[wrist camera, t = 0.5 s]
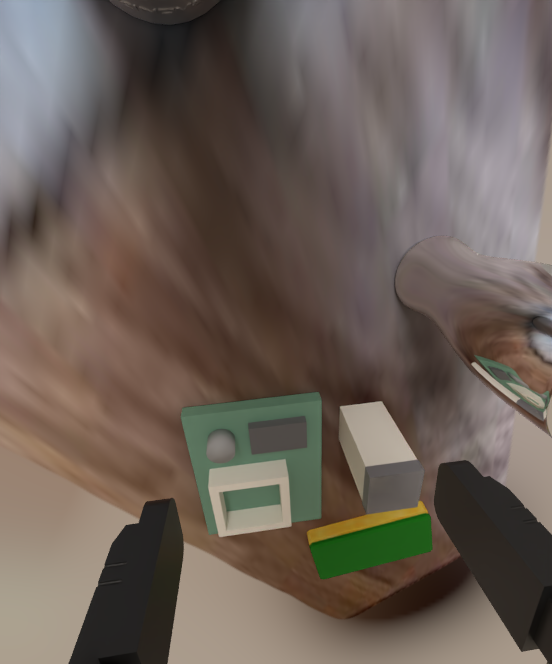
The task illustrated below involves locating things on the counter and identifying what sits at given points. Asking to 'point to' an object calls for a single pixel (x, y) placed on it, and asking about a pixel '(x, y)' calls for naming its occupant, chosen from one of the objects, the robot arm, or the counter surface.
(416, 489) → the plug
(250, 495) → the board
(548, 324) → the beer glass
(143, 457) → the counter surface
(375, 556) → the dish sponge
